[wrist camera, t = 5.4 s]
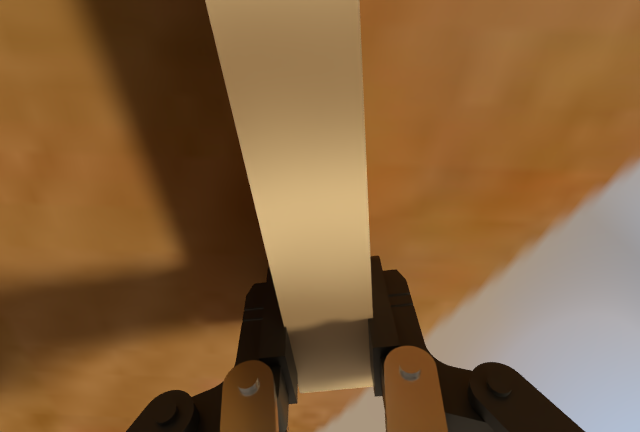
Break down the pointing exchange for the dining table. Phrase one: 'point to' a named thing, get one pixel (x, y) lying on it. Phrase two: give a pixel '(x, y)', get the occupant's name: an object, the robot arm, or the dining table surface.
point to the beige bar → (306, 171)
